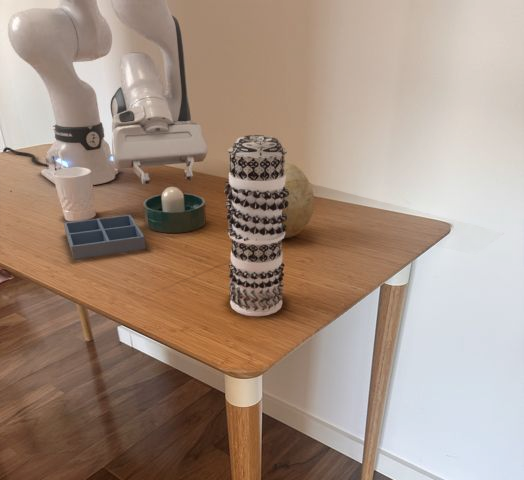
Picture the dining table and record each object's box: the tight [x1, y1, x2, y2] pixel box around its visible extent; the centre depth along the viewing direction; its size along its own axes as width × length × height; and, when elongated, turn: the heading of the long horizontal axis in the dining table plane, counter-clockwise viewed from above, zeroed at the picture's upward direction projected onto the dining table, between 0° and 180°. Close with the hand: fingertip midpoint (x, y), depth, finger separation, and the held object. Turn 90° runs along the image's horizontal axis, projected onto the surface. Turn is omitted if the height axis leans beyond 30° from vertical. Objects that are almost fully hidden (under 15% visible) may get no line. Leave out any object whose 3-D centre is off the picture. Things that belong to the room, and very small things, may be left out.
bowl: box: [143, 192, 207, 234], centre depth 108 cm, size 13×13×5 cm
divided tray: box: [63, 214, 147, 261], centre depth 100 cm, size 14×14×3 cm
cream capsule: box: [161, 186, 185, 212], centre depth 107 cm, size 5×5×8 cm
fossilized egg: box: [282, 161, 315, 239], centre depth 101 cm, size 13×13×15 cm
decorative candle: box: [223, 134, 289, 317], centre depth 74 cm, size 9×9×25 cm
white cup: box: [52, 167, 97, 222], centre depth 110 cm, size 8×8×10 cm
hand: (168, 180), depth 107 cm, fingers open, 8 cm apart
